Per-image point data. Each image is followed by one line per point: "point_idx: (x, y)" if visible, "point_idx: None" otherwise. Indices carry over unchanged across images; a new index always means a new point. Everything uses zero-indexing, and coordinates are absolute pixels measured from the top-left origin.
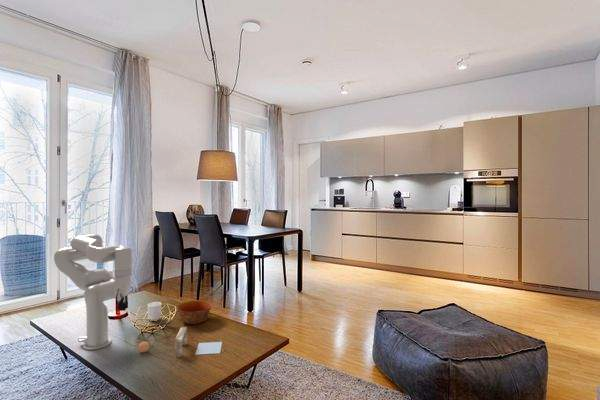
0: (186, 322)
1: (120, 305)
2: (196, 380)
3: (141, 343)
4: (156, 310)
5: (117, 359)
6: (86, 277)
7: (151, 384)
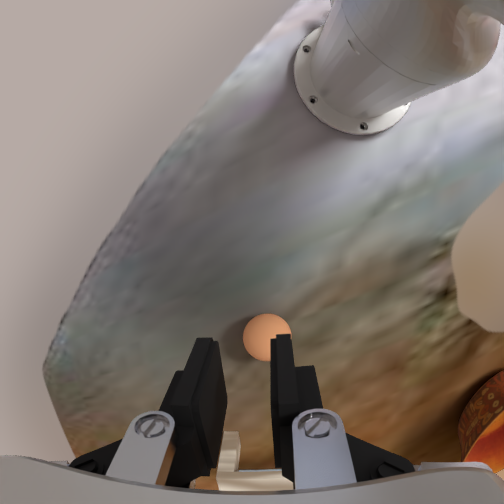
0: (470, 402)
1: (165, 408)
2: None
3: (257, 342)
4: None
5: (201, 242)
6: None
7: (79, 396)
